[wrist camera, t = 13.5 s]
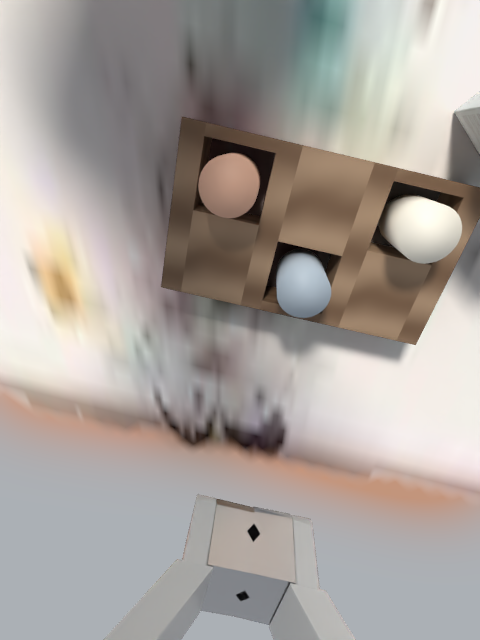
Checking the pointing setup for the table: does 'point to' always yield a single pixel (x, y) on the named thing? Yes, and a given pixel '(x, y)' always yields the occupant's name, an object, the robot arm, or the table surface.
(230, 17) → the table surface
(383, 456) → the table surface
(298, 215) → the tray
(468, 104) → the supplement box
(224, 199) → the tan rounded short cylinder
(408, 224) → the cream egg-shaped piece
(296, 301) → the key slate
